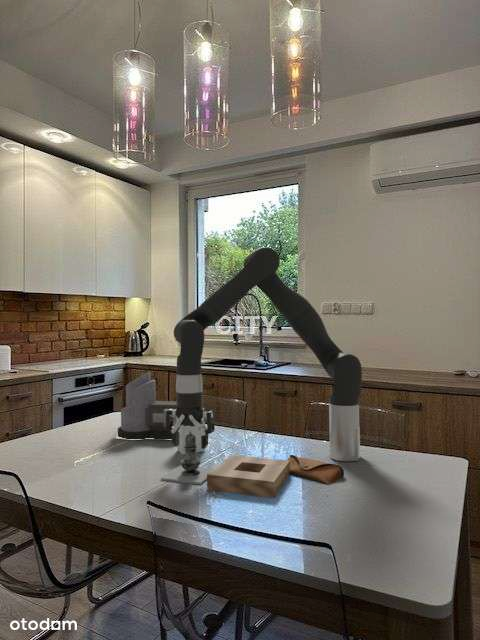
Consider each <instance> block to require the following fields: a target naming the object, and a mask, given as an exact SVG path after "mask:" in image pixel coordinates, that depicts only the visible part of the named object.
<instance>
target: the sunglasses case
mask: <svg viewBox="0 0 480 640" xmlns="http://www.w3.org/2000/svg"><path fill="white" fill-rule="evenodd" d="M287 460H289V461H290V475H289V476H293V477H298V478H302V479H306V480H309V481H314V482H317V483H321V484H324V485H327V486H328V485H332V484H333V483H335V482H337V481H339V480H340V479H343V478H344V476H345V471H344V469H343V467H342V466H341V465H339V464H336V463H327V462H324V461H323V462H322V461H319V460H314V459H310V458H305V457H300V456H296V455H294V454H290V455H289V457H288V458H287Z"/></svg>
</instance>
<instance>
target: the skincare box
mask: <svg viewBox="0 0 480 640" xmlns="http://www.w3.org/2000/svg"><path fill="white" fill-rule="evenodd" d="M176 409H177V408H176ZM203 411H204V412H205V408H204V407H203ZM176 419H177V421H178V418H177V416H176ZM202 420H203V422H204V423H205V417H204V416H203V418H202ZM190 431H191V432H192V433H191V434H193V435H195V438H196V446H197V448H196V453H201V452H205V451H206V448H205V449H202V448H201V436H202V434H201V432H200V431H199V430H198V429H197V428H196V427H195V426H194V427H192V426H183V425H182V426H181V428H180V429H179V431H178V432H179V445H178V446H177V449H176V450H177V451H178V452H179V453H180V454H181V455H182V456H185V448H184V447H185V437H186V436H187V435H188V434H190V433H189V432H190Z"/></svg>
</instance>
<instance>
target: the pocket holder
mask: <svg viewBox="0 0 480 640" xmlns="http://www.w3.org/2000/svg"><path fill="white" fill-rule="evenodd" d="M289 476H291V475H290V461H289V460H288V459H276V458H266V457H255V456H244V455H233V454H232V455H231V454H230V455H229V456H228V457H226V458H225V459H224V460H222V462H220V463H219V464H218V465H217V466H215V467H214V469H213V470H212V471H211V472H209V473H208V474H207V480H206V490H207V491H214V492H221V493H222V492H223V493H231V494H237V495H239V494H240V495H245V496H246V495H247V496H256V497H264V498H272V499H274V498H276V496H277V494H278V493H279V492H280V490H281V489H282V487H283V486H284V485H285V483H286V482H287V480H288V478H289Z"/></svg>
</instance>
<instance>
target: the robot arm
mask: <svg viewBox="0 0 480 640" xmlns="http://www.w3.org/2000/svg"><path fill="white" fill-rule="evenodd" d="M280 262H281V261H280V256H279V254H278V252H277V251H276V250H275V249H273V248H271V247H269V246H263V247H259V248H257V249H255V250H253V251H252V252H251V253H249V254H248V255H247V256H246V257H245V259H244V260H243V267H242V269H240V271H238V273H236V274H235V275H234V276H233V277H232V278H231V279H229V280H228V281H227V282H226V283H224V284H223V285H221V286H220V287H219V288H218V289H217V290H215V291H214V292H213V293H212V294H211V295H210V296H209V297H207V299H205V300H204V301H203V302H202V303H200V305H199V306H198V307H197V308H196V309H194V310H192V311H191V312H190V313H188V314H187V315H185V316H184V317H183V318H182V319H180V320H179V321H178V322H177V323H176V325H175V326H174V329H173V336H174V339H175V341H176V342H178V343H180V348H179V350H180V352H179V355H177V358H176V379H175V380H176V381H175V399H176V400H175V401H176V406H177V409H176V410H173V409H169V410H167V411H166V430H167V431H170V432H172V441H171V442H172V445H173V447H177V446H178V445H179V432H178V431H179V429H180V428H181V426H182V425H183V426H192V427H194V426H195V427H196V428H197V429H198V430H199V431H200V432H201V434H202V436H201V448H202V449H205V450H206V448H207V447H208V446H209V435H210V434H212V433H214V432H215V414H214V411H213V410H210V411H205V410H204V411H203V408H204V406H203V405H204V403H203V402H204V401H203V400H204V399H203V397H204V395H203V394H204V393H203V392H204V391H203V388H204V387H203V385H204V384H203V375H202V356H203V351H204V346H205V330H206V329H208V327H210V326H213V325H215V324H217V322H219V321H220V320H221V319H223V317H224V316H225V315H227V313H229V312H230V311H231V310H232V309H233V308H234V307H235V306H236V304H237V303H238V302H240V300H242V298H244V296H245V295H247V294H248V293H249V292H250V291H251V290H252V289H253V288H254V287H256V286H257V288H258V289H259V290H260V291H261V292H262V293H263V294H264V295H265V296H266V297H267V298H268V299H269V301H270V302H271V303H272V305H274V307H275V308H276V310H277V311H278V312H279V313H280V314H281V316H282V317H283V318H284V320H285V321H286V322H287V324H288V325H289V326H290V328H291V329H292V330H293V331H294V332H295V333H296V334H297V336H299V338H300V339H301V340H302V341H303V343H304V344H305V345H306V346H307V347H308V348H309V349H310V350H311V351H312V353H313V354H314V355H315V357H316V358H317V360H318V361H319V363H320V364H321V366H322V367H323V369H324V371H325V372H326V374H327V375H328V376H329V377H330V378H331V379H333V390H332V392H331V393H330V394H329V396H328V401H329V402H328V403H329V404H328V405H329V407H328V408H329V458H330V459H332V460H334V461H339V462H360V461H359V460H360V457H361V430H360V429H361V428H360V398H361V394H362V385H363V382H362V380H363V370H362V369H363V368H362V363H361V361H360V359H359V358H358V357H357V356H356V355H354V354H351V353H347V352H346V353H345V352H344V351H342V350H341V349H340V348H339V346H338V345H336V343H335V342H334V340H332V338H331V337H330V335H329V334H328V331H327V329H326V326H325V324H324V321H323V319H322V318H321V316H320V315H319V313H318V312H317V310H316V309H315V308H314V307H313V305H312V304H311V303H310V302H309V301H308V300H307V298H305V297H304V296H303V295H302V294H300V293H298V292H297V291H295V290H294V289H293V288H291V287H290V286H288V285H287V284H286V283H284V281H283V280H282V279H281V278H280V277H279V275H278V274H277V271H278V269H279V268H280ZM175 414H176V416H177V418H178V421H177V422H176V424H175V426H173V419H174V416H175ZM203 416H204V420H206V423H205V421H204V422H203V420H202V418H203Z"/></svg>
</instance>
